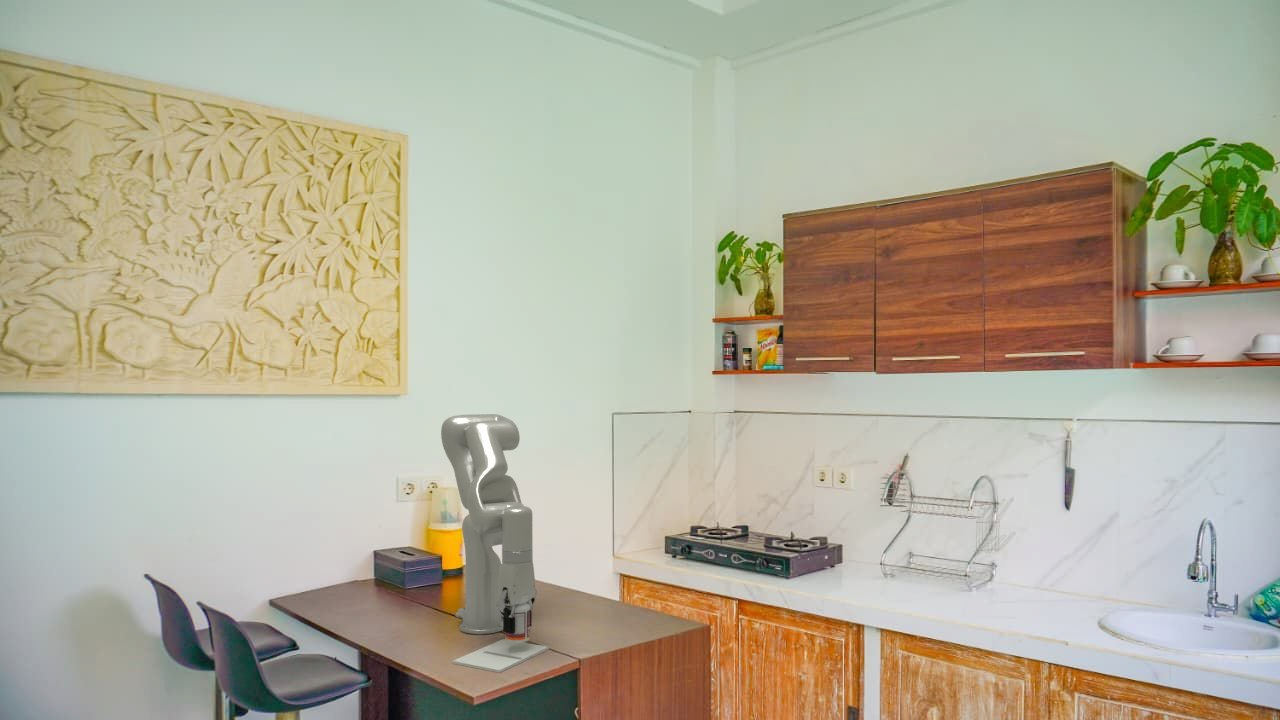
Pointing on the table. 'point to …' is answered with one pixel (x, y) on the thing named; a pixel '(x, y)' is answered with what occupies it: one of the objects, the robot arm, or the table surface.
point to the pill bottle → (520, 622)
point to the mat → (500, 655)
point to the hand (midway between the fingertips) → (517, 628)
